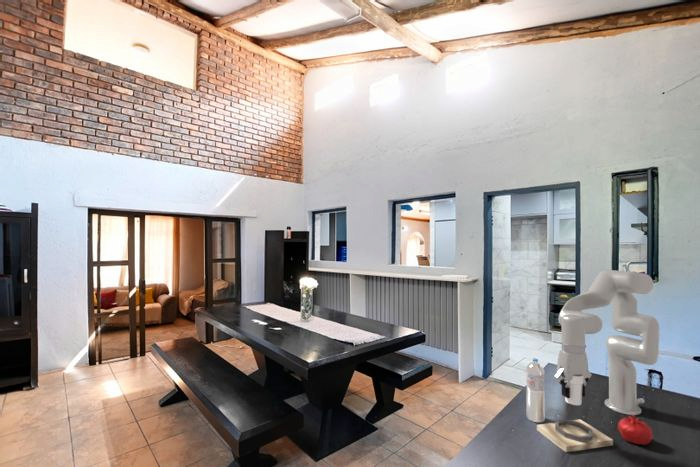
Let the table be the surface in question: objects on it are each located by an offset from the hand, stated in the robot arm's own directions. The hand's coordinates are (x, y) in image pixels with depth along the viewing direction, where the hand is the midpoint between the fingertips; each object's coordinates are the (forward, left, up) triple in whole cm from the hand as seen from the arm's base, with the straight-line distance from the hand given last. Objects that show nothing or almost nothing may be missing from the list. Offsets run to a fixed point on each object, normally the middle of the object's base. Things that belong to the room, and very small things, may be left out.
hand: (573, 395), depth 129 cm
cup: (0, 0, -3) cm, 3 cm away
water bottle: (+5, -14, -16) cm, 22 cm away
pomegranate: (-21, +6, -16) cm, 27 cm away
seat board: (0, 0, -16) cm, 16 cm away
